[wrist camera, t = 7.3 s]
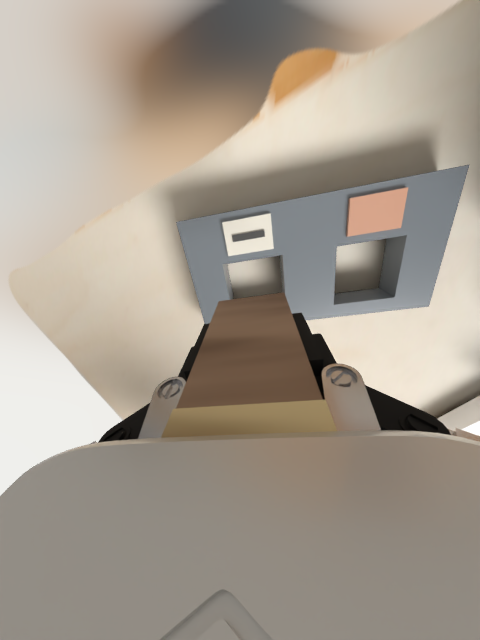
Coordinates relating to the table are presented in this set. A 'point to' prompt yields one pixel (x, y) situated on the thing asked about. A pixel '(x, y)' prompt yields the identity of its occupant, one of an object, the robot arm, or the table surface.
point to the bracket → (464, 417)
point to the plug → (250, 376)
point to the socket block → (332, 244)
